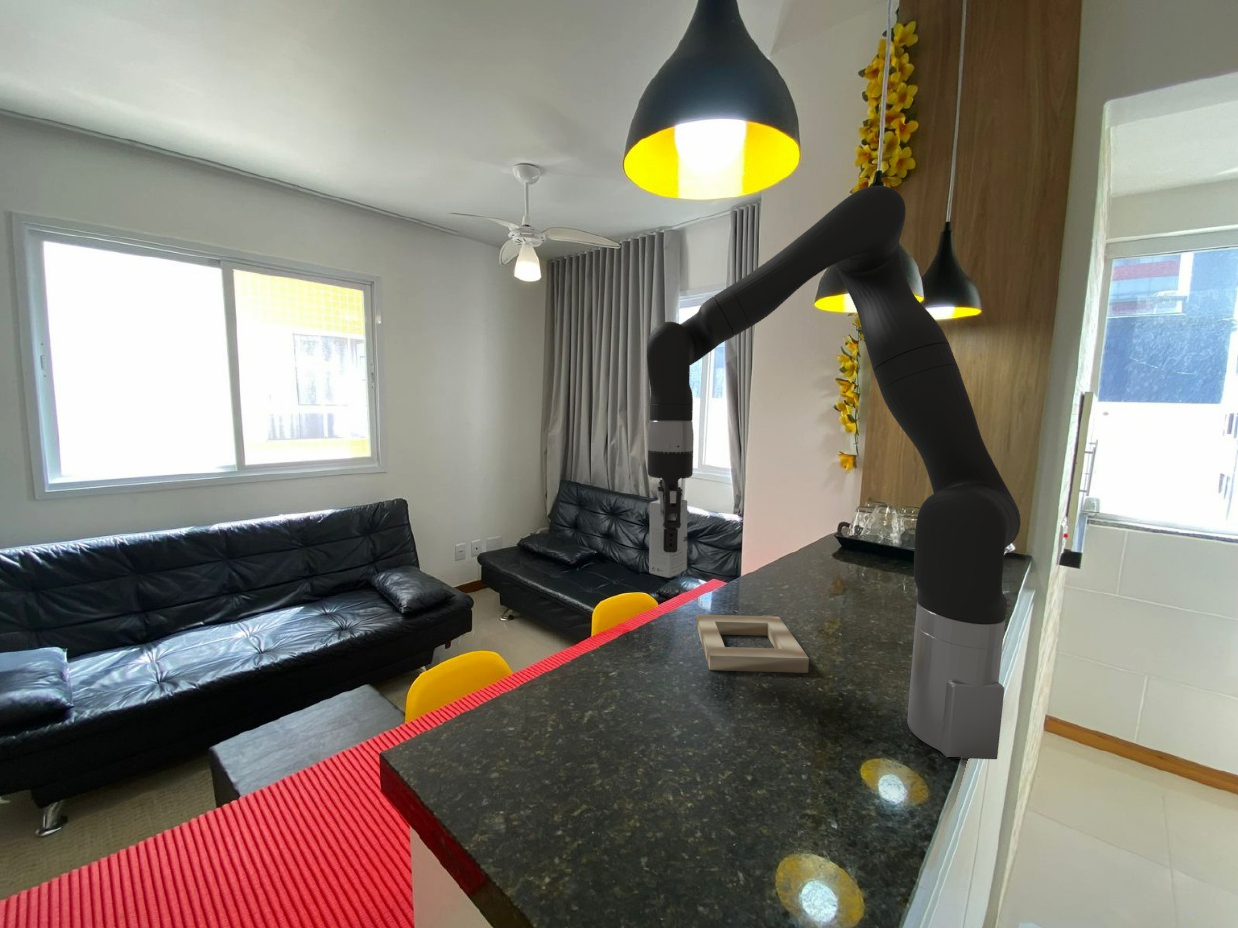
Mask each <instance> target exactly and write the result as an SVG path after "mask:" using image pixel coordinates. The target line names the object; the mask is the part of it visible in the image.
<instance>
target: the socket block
mask: <svg viewBox="0 0 1238 928" xmlns="http://www.w3.org/2000/svg"><path fill="white" fill-rule="evenodd" d="M696 629H697V632H698V633H697V634H698V636H699V639H700V644H701V646H702V650H703V653H704V655H705V659H706V662H707V666H708V669H709V671H732V672H733V671H734V672H735V671H736V672H764V673H765V672H768V673H772V672H773V673H799V674H801V673H804V674H806V673H807V674H808V673H809V661H810V657H808V655H807V654H806V652H805V651H804V649H803V648H802V647H801V645H800V644H799V642H798V641H797V640H796V638H795V636H793V635H792V633H791V631H790V630H789V629H788V627H787V626H786V625H785V623H784V622H783V620H782V619H781V618H780V617H779V616H770V615H769V616H768V615H767V616H766V615H765V616H763V615H762V616H761V615H734V614H733V615H732V614H731V615H730V614H729V615H728V614H727V615H726V614H725V615H724V614H696ZM721 635H731V636H733V635H734V636H736V635H737V636H739V635H740V636H767V638H768V640H769V641H770V643H771V645H773V647H769V648H768V647H740V646H739V647H738V646H737V647H736V646H735V647H734V646H733V647H729V646H725V644H724V641H723V638H722V636H721Z"/></svg>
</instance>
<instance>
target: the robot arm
mask: <svg viewBox="0 0 1238 928" xmlns="http://www.w3.org/2000/svg"><path fill="white" fill-rule="evenodd" d="M906 209H907V208H906V204H905V200H904V198H903V196H902V195H901V194H900V193H899V192H898V191H897V190H895V189H894V188H892V187H889V186H886V185H871V186H867V187H863V188H861V189H858V190H857V191H854V192H853V193H851V194H850V195H849V196H847V197H845V199H843V200H842V201H841V202H839V203H838V204H837V205H836V206H835V207H834V208H832V209H831V210H829V212H828V213H826V214H825V215H824V216H823V217H821V218H820V219H819V220H818V221H817V222H816V223H814V224H813V225H812V226H810V228H808V229H807V230H806V231H804V232H803V233H802V234H801V235H799V236H798V237H797V238H796V239H794V240H793V241H792V242H791V243H790V244H788V245H787V246H786V247H784V248H783V249H781V250H780V251H779V252H778V253H777V254H775V255H774V256H773V257H771V258H770V259H768V260H767V261H766V262H765V263H763V264H761V265H760V266H759V267H757V268H755V270H753V271H751V272H750V273H748V274H747V275H746V276H744V277H742V278H741V279H739V280H738V281H736V282H733V283H732V284H731V285H729V286H727V287H726V288H724V289H723V290H721V291H720V292H718V293H716V294H715V295H714V296H712V297H710V298H709V299H707V300H706V301H705V302H703V303H702V304H701V305H700V307H699V309H698V311H697V312H696V313H695V314H694V315H692V316H691V317H689V318H687V319H686V320H685V321H683V322H682V323H680V322H679V323H678V322H676V321H664V322H662V323H659V324H658V325H656V326H655V327H654V328H653V330H651V332H650V334H649V337H648V340H647V345H646V362H647V372H648V373H647V374H648V381H649V388H650V398H649V399H650V401H649V427H648V434H647V469H646V470H647V471H646V472H647V473H646V474H647V475H648V476H649V477H651V478H653V479H654V478H655V479H660V480H659V482H658V484H659V486H657V487H656V494H657V500H660V515H661V516H662V517H663V525H662V527H663V529H664V541H663V549H664V551H665V552H677V544H678V530H679V528H680V526H681V523H680V515H681V512H682V508H681V500H683V496H684V495H683V494H684V493H683V489H682V488H681V486H679V480H681V479H689V478H691V477H692V476H693V475H694V472H693V471H694V440H695V438H694V437H695V436H694V426H693V414H694V413H693V411H694V409H693V406H694V398H693V390H692V387H691V384H690V381H691V380H690V378H691V376H690V375H691V374H690V373H691V369H690V368H691V365H694V364H695V363H697V362H698V361H699V360H701V359H703V358H704V357H705V356H707V355H708V354H710V353H711V352H712V351H713V350H715V349H716V348H717V347H718V346H719V345H721V344H723V343H725V342H726V341H728V340H730V339H732V338H734V337H735V336H738V335H739V334H741V333H743V332H744V331H746V330H747V329H750V328H751V327H753V326H755V325H757V324H758V323H760V322H761V321H763V320H764V319H765V318H767V317H768V316H769V315H770V314H772V313H773V312H774V311H775V310H777V309H778V308H779V307H780V306H781V305H782V304H783V303H784V302H785V301H786V300H788V299H789V298H790V297H791V296H792V295H793V294H795V292H797V290H799V289H800V288H802V286H803V285H805V284H806V283H807V282H808V281H810V280H811V279H813V278H814V277H816V276H817V275H818V274H820V273H821V272H823V271H825V270H826V269H828V268H831V267H832V266H834V267H835V269H836V271H837V273H838V275H839V276H840V279H841V280H842V282H843V284H844V286H845V288H846V291H847V292H848V295H849V297H850V298H851V301H852V303H853V305H854V308H855V310H856V313H857V315H858V319H859V322H860V328H861V332H862V337H863V340H864V344H865V347H866V352H867V354H868V357H869V361H870V364H871V367H872V370H873V374H874V377H875V380H876V382H877V386H878V388H879V390H880V394H881V396H882V398H883V401H884V402H885V405H886V406H887V409H888V410H889V412H890V414H891V415H892V417H893V418H894V419H895V420H896V422H897V424H898V425H899V426H900V428H901V429H902V431H903V432H904V433H905V435H906V436H907V437H908V439H909V440H910V441H911V443H912V444H913V445H914V447H915V449H916V450H917V451H918V454H919V455H920V457H921V459H922V461H923V464H924V466H925V469H926V471H927V475H928V478H929V481H930V484H931V489H932V492H933V493H932V494H931V495H929V496H928V497H927V498H926V499H925V501H923V503H922V504H921V506H920V508H919V510H918V514H917V518H916V524H915V532H914V549H913V550H914V555H913V580H914V583H915V586H916V591H917V599H916V600H917V601H916V610H915V611H916V613H915V623H914V634H913V647H912V657H911V670H910V671H911V672H910V679H909V680H910V681H909V682H910V683H909V694H908V706H907V707H908V709H907V719H906V722H907V726H908V728H909V730H910V732H911V733H913V735H914V736H916V738H918V739H919V740H921V741H922V742H923V743H925V744H927V745H928V746H930V747H932V748H933V749H935V750H938V751H940V752H941V753H942V754H943V755H944V757H946V758H948V757H962V758H961V759H971V760H973V759H974V760H975V759H976V760H998V755H999V744H1000V736H1001V725H1002V718H1003V717H1002V715H1003V706H1004V699H1005V687H1004V686H1003V685H1002V684H1001V683H1000V674H1001V665H1002V664H1001V662H1002V655H1003V653H1002V652H1003V644H1004V643H1003V642H1004V635H1005V625H1006V617H1007V609H1008V608H1007V607H1008V599H1007V598H1006V596H1005V594H1004V592H1003V576H1004V575H1003V574H1004V561H1005V552H1006V551H1005V550H1006V549H1007V548H1008V547H1009V546H1010V545H1012V543H1013V542H1014V541H1016V539H1017V538H1018V534H1019V533H1020V530H1021V513H1020V510H1019V508H1018V505H1017V504H1016V502H1015V499H1014V498H1013V496H1012V494H1011V492H1010V491H1009V489H1008V486H1007V485H1006V482H1005V481H1004V480H1003V478H1002V476H1001V474H1000V471H999V470H998V468H997V467H996V465H995V463H994V461H993V459H992V456H991V455H990V453H989V451H988V450H987V447H986V445H985V442H984V440H983V438H982V437H983V436H982V435H981V431H980V429H979V425H978V422H977V421H978V420H977V418H976V416H975V413H974V412H975V411H974V408H973V405H972V403H971V400H970V397H969V394H968V392H967V389H966V386H965V383H964V380H963V377H962V374H961V370H960V368H959V365H958V364H957V360H956V357H955V355H954V353H953V350H952V347H951V346H950V342H949V340H948V338H947V336H946V335H945V333H944V331H943V329H942V327H941V326H940V325H939V322H937V320H936V319H935V318H934V316H933V315H932V314H931V313H930V312H929V311H928V310H927V309H926V308H925V306H924V305H923V304H922V303H921V302H920V301H919V299H918V298H917V297H916V295H915V294H914V293H913V291H912V289H911V287H910V283H909V282H908V278H907V275H906V272H905V269H904V266H903V261H902V257H901V253H900V252H901V251H900V240H901V238H902V234H903V230H904V225H905V221H906V215H907V214H906ZM663 503H664V504H665V505H664V507H663ZM668 515H671V516H674V517H675V520H668Z"/></svg>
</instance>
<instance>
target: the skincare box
mask: <svg viewBox="0 0 1238 928" xmlns="http://www.w3.org/2000/svg"><path fill="white" fill-rule="evenodd" d="M664 505H665V504H664V503H663V507H664ZM681 508H682V512H681V515H680V523H681V526H680V528H679V530H678V544H677V552H665V551H664V549H663V541H664V529H663V527H662V525H663V517H662V516H661V515H660V500H658V499H657V500H654V501H650V502H649V543H648V544H649V550H648V551H649V553H648V554H649V555H648V557H649V563H648V569H649V571H648V572H649V574H651V575H655V576H659V577H664V578H669V579H670V578H673V577H674V576H677V575H678V574H681V573H682V572H684V571H686V570H687V568H688V500H687V499H682V500H681ZM668 520H675V517H674V516H671V515H668Z"/></svg>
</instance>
